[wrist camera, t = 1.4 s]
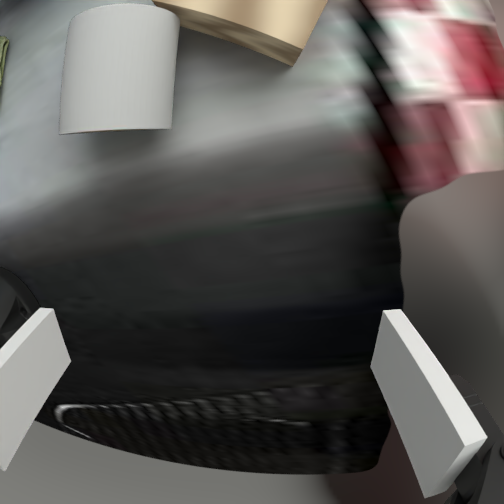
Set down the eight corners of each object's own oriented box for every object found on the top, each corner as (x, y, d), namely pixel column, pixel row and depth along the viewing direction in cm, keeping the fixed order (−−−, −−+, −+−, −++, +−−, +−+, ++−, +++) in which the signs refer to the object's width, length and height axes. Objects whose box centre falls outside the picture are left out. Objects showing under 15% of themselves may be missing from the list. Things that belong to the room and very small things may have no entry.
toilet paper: (182, 129, 29) (151, 128, 20) (91, 132, 29) (36, 137, 20) (189, 34, 26) (164, -4, 17) (98, 43, 26) (48, 19, 16)
